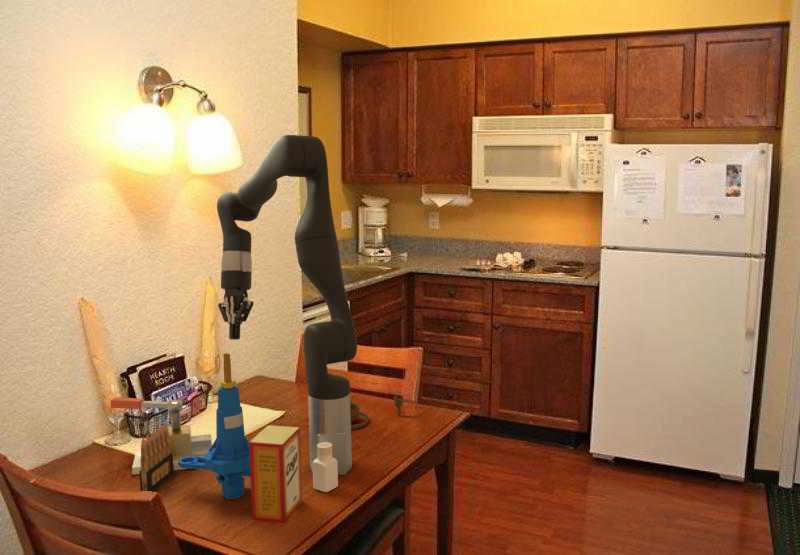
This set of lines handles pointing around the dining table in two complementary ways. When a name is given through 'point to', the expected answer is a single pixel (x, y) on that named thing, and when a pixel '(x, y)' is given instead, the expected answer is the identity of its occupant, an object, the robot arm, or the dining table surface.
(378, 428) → the dining table surface
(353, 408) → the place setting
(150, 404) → the valve lever
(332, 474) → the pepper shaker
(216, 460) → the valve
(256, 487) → the baking soda box
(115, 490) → the dining table surface
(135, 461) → the mounting board
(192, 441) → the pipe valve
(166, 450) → the ammunition clip
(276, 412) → the dining table surface
